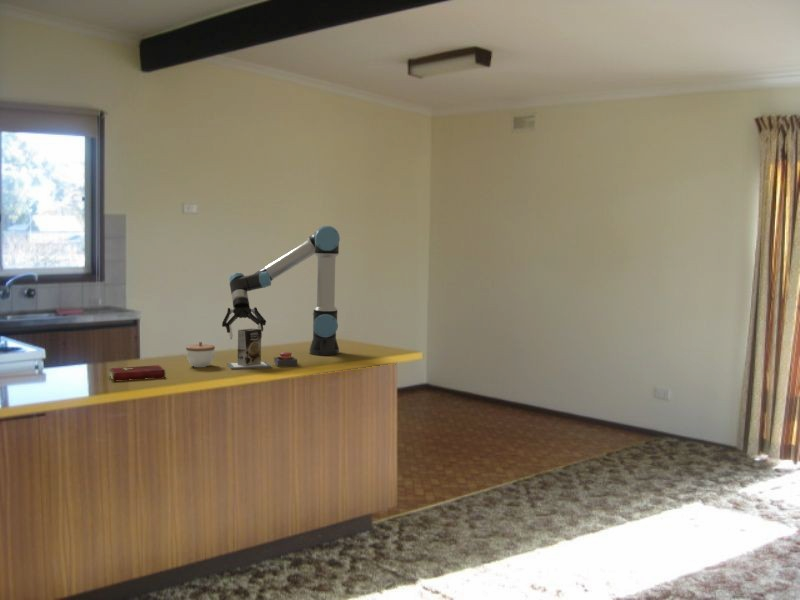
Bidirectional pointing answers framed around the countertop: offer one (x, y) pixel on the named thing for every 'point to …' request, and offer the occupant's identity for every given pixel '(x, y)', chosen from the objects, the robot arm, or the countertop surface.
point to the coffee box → (249, 347)
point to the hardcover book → (137, 372)
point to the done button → (285, 355)
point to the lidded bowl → (200, 354)
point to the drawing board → (236, 366)
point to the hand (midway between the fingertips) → (246, 337)
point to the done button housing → (285, 362)
